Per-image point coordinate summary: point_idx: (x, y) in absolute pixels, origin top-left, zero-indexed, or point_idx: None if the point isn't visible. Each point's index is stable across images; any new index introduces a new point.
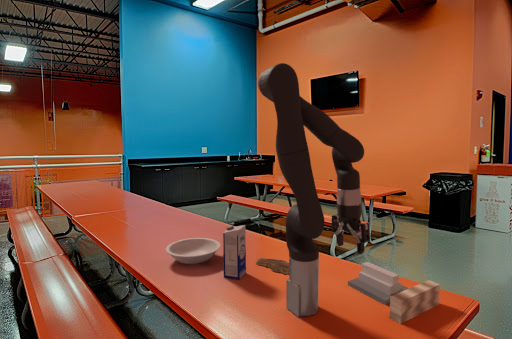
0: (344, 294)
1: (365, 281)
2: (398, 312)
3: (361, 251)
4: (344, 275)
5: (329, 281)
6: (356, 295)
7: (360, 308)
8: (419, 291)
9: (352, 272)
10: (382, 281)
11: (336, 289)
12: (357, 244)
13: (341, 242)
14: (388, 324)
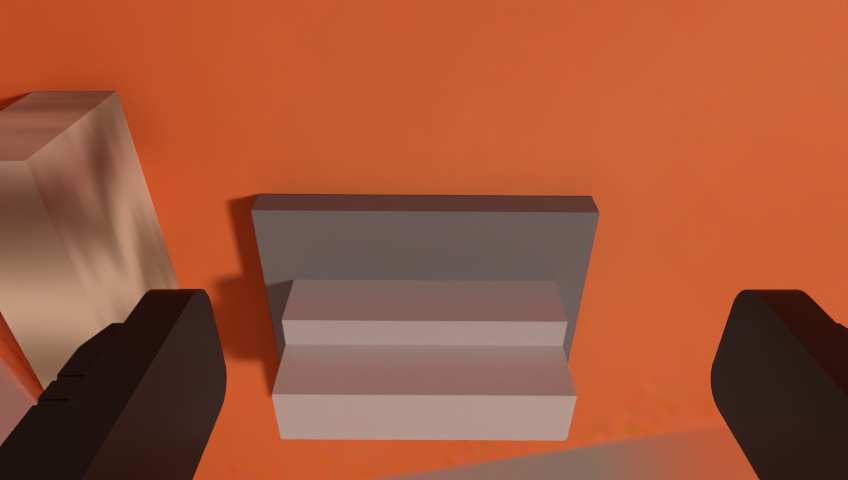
0: (514, 67)
1: (495, 290)
2: (5, 118)
3: (76, 351)
4: (695, 277)
5: (731, 123)
6: (450, 133)
7: (295, 9)
8: (52, 374)
9: (677, 342)
10: (365, 339)
11: (609, 72)
12: (70, 461)
13: (755, 396)
14: (44, 13)
